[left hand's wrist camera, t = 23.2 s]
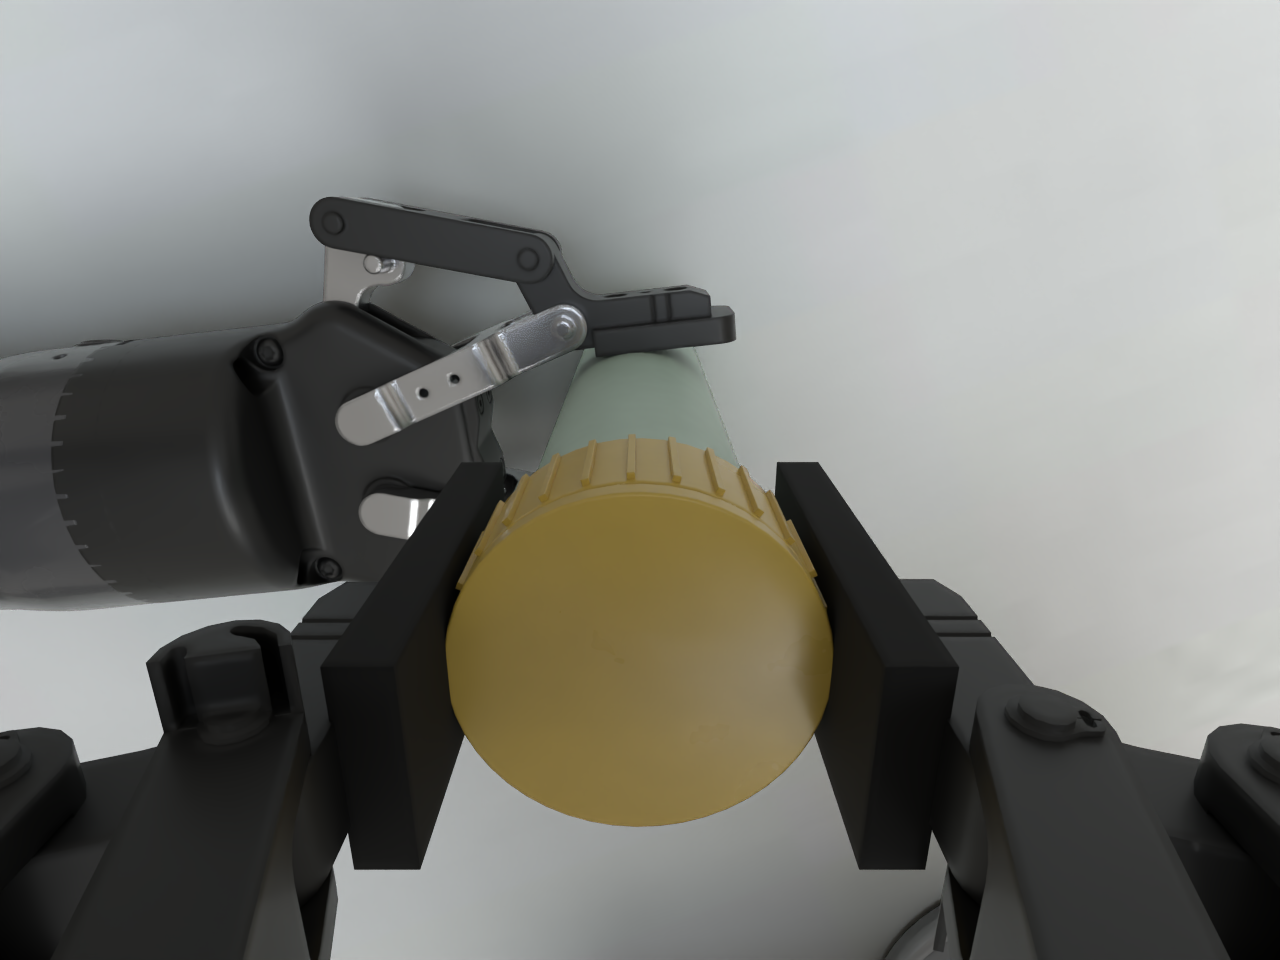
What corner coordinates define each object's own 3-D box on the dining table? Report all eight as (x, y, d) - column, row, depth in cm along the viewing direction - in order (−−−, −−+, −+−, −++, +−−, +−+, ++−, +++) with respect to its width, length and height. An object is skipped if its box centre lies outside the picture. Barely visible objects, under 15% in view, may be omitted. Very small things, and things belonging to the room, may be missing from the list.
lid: (843, 668, 13) (886, 766, 10) (555, 762, 13) (538, 873, 11) (741, 379, 11) (766, 423, 9) (417, 504, 12) (364, 574, 9)
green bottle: (723, 387, 27) (849, 659, 11) (627, 456, 28) (611, 802, 12) (651, 288, 26) (673, 429, 10) (554, 363, 27) (423, 606, 11)
